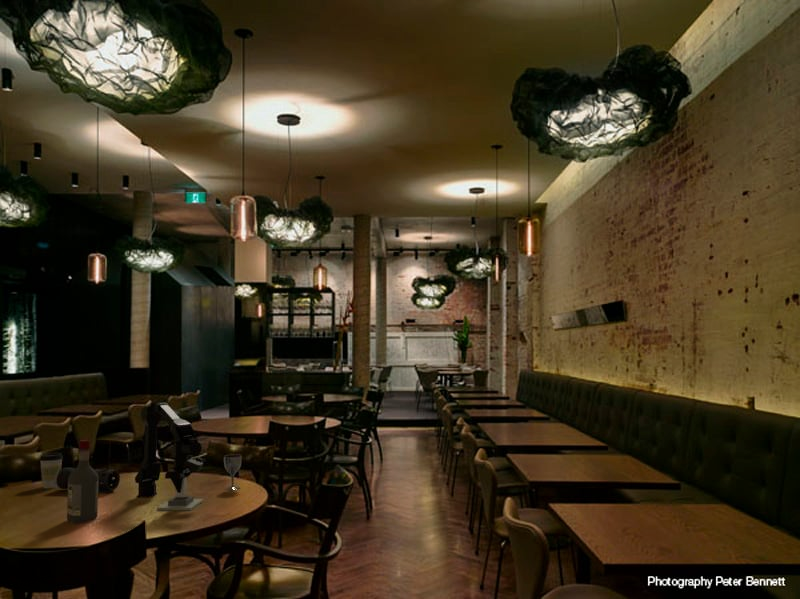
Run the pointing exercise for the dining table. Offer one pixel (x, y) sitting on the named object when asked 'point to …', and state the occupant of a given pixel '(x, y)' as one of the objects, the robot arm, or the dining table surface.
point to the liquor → (82, 489)
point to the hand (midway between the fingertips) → (181, 491)
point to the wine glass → (232, 467)
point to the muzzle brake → (103, 480)
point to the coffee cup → (50, 468)
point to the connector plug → (182, 489)
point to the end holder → (180, 503)
